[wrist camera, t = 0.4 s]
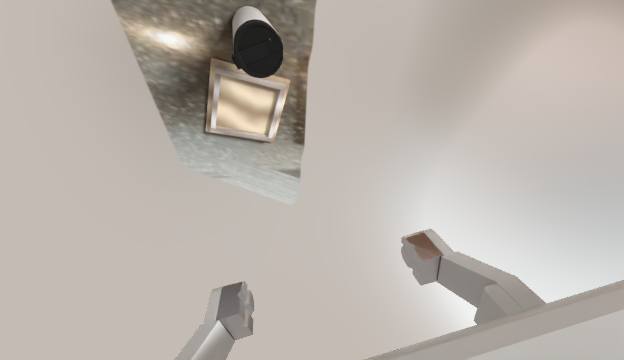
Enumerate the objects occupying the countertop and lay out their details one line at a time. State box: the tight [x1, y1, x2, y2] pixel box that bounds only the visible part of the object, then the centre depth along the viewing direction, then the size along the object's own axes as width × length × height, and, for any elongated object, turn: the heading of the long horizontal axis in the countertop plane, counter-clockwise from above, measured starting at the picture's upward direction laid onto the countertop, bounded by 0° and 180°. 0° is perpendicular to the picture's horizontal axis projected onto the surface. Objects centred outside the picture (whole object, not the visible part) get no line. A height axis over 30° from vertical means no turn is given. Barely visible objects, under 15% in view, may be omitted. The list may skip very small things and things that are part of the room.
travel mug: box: [231, 6, 283, 78], centre depth 35 cm, size 6×7×20 cm
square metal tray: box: [206, 57, 290, 143], centre depth 50 cm, size 16×16×2 cm
